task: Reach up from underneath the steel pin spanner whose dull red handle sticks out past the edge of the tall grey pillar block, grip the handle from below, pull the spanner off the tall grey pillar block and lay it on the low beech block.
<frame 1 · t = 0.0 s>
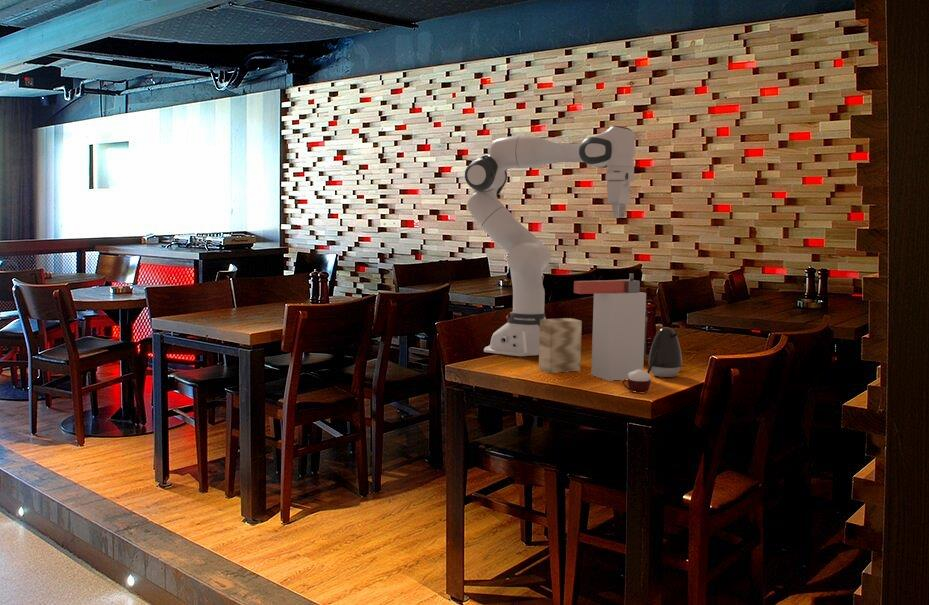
hand: (618, 217, 287), 48 cm above the table, tool pointing down, fingers open, 8 cm apart
grey rounded upright piece: (664, 376, 265), on the table
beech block: (559, 370, 272), on the table
pin spanner: (600, 292, 257), point 26 cm above the table, touching tall grey pillar block
coffee jar: (632, 361, 290), on the table
tall grey pillar block: (616, 376, 262), on the table
cocoa: (639, 392, 242), on the table
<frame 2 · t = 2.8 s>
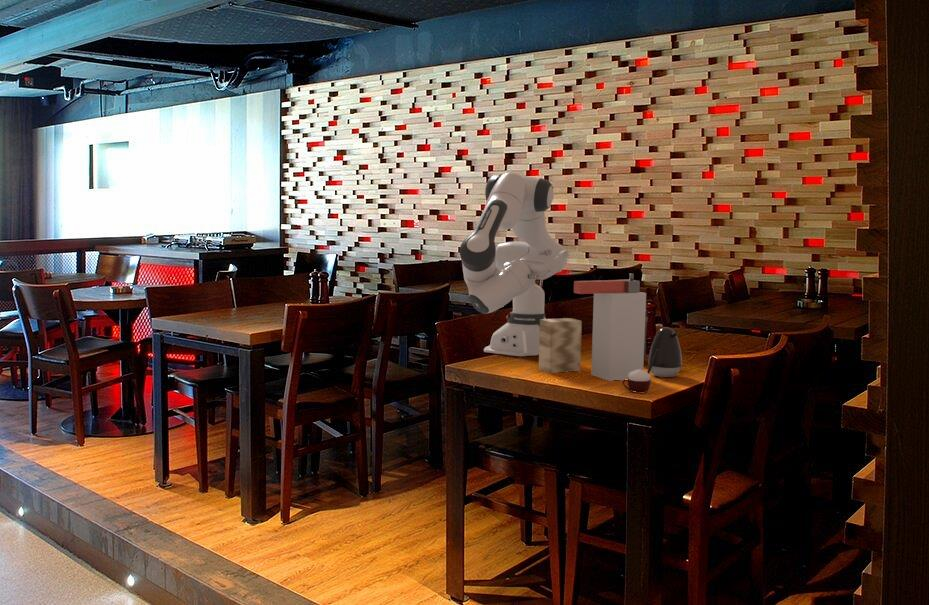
hand: (558, 251, 250), 38 cm above the table, tool pointing upward, fingers open, 8 cm apart
nothing on the table moved.
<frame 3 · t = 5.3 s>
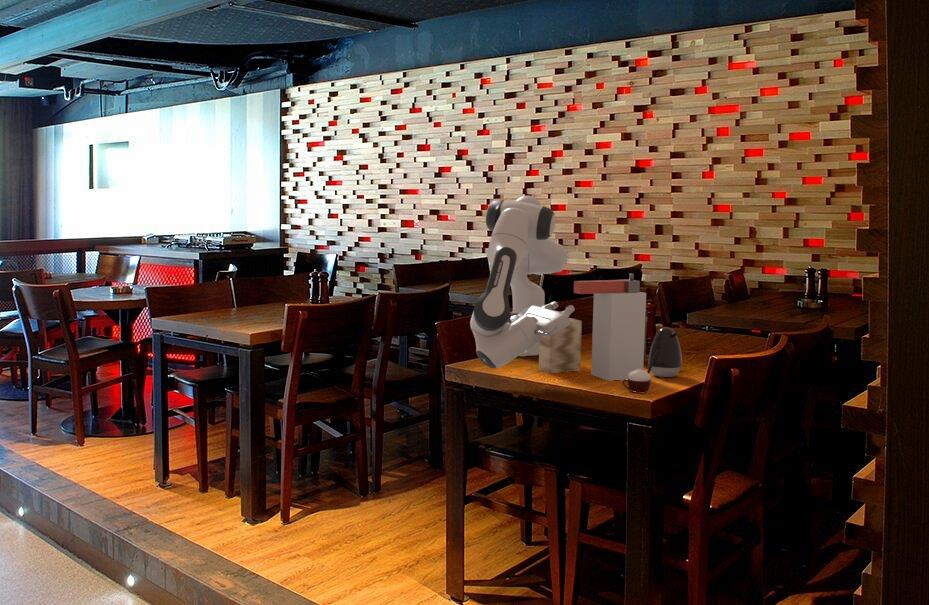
hand: (564, 305, 253), 23 cm above the table, tool pointing upward, fingers open, 8 cm apart
nothing on the table moved.
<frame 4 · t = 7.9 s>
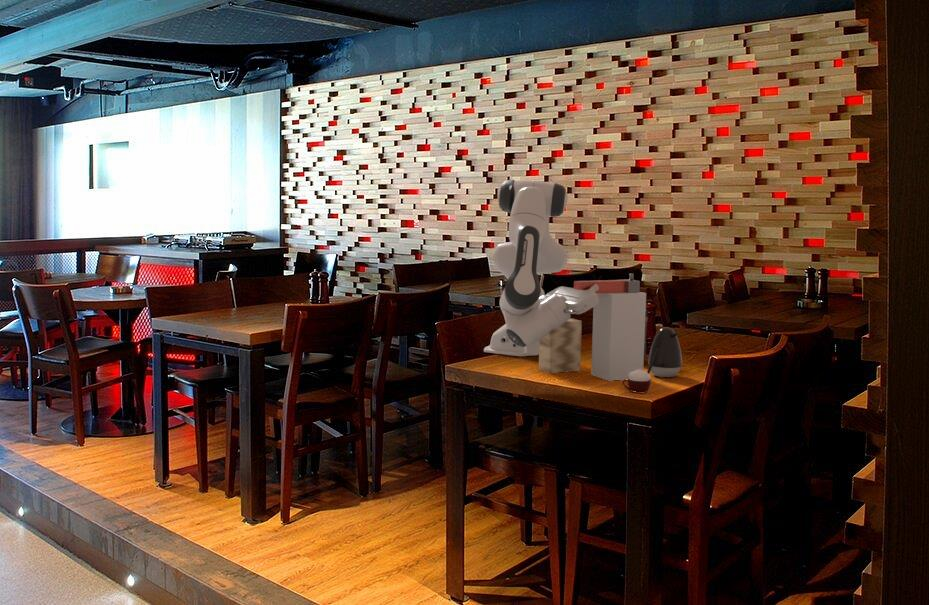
hand: (592, 285, 255), 28 cm above the table, tool pointing upward, fingers closed on pin spanner, 3 cm apart
pin spanner: (599, 292, 257), point 26 cm above the table, touching gripper, tall grey pillar block
everything else where it was.
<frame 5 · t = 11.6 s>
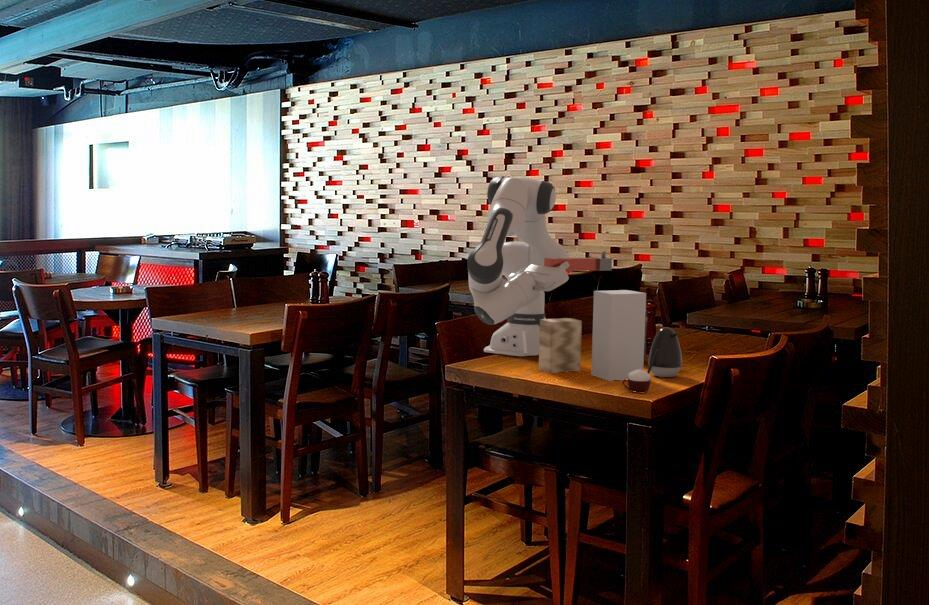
hand: (563, 262, 251), 35 cm above the table, tool pointing upward, fingers closed on pin spanner, 3 cm apart
pin spanner: (570, 270, 252), point 33 cm above the table, touching gripper
everything else where it was.
when the fingers open (19 cm above the table, at t = 15.7 s): pin spanner drops 1 cm, resting on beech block.
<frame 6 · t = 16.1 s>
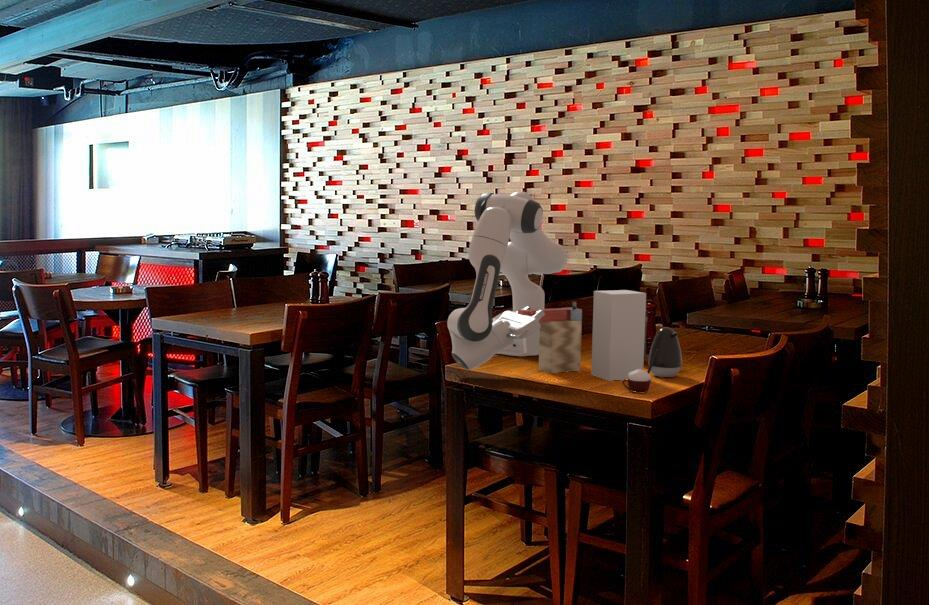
hand: (536, 310, 266), 19 cm above the table, tool pointing upward, fingers open, 7 cm apart
pin spanner: (543, 320, 267), point 16 cm above the table, touching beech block
everything else where it was.
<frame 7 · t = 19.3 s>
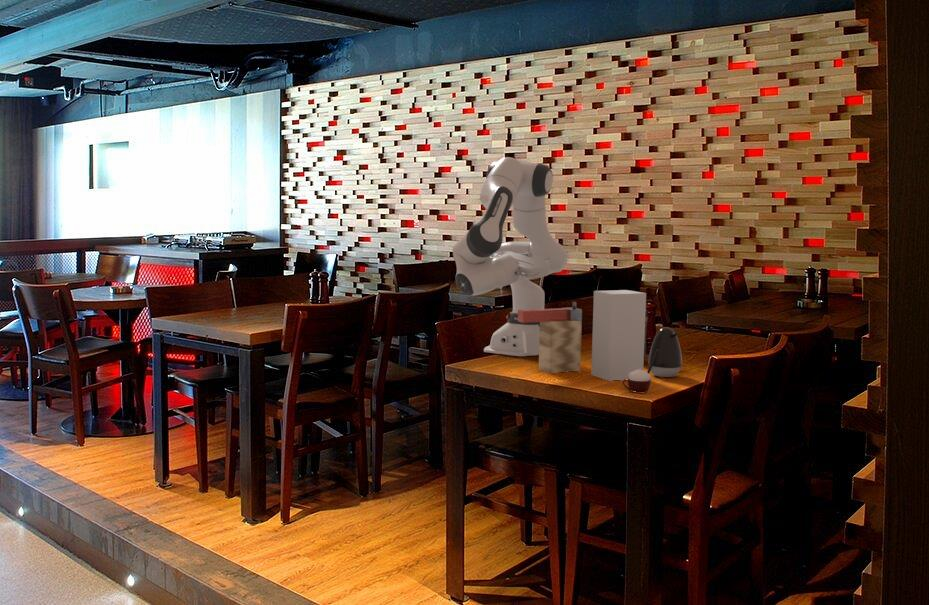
hand: (541, 257, 263), 36 cm above the table, tool horizontal, fingers open, 8 cm apart
nothing on the table moved.
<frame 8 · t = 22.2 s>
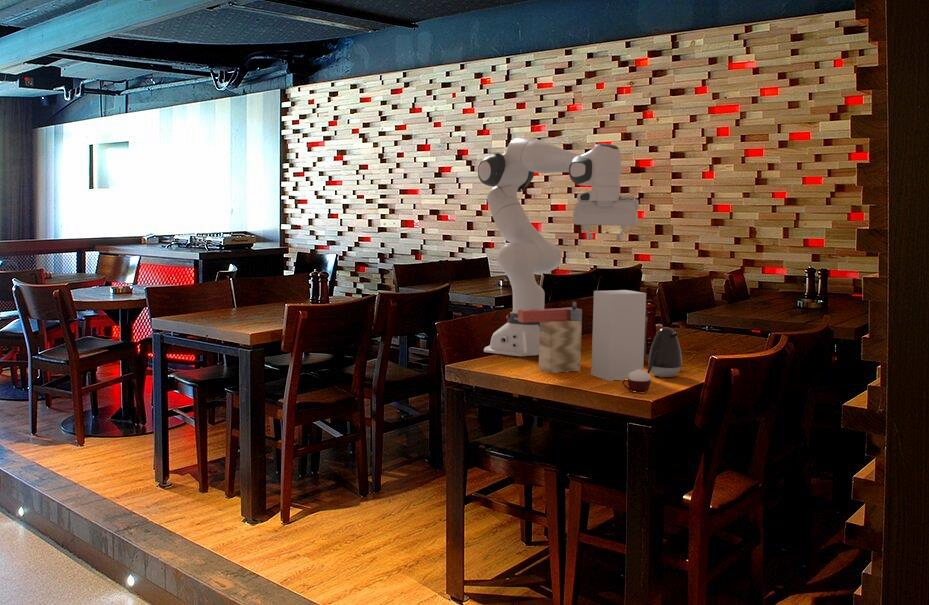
hand: (604, 240, 272), 41 cm above the table, tool pointing down, fingers open, 8 cm apart
nothing on the table moved.
at the end: pin spanner inside the target area (0.4 cm from its centre), point 16.0 cm above the table; pin spanner touching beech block; the gripper is holding nothing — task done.
